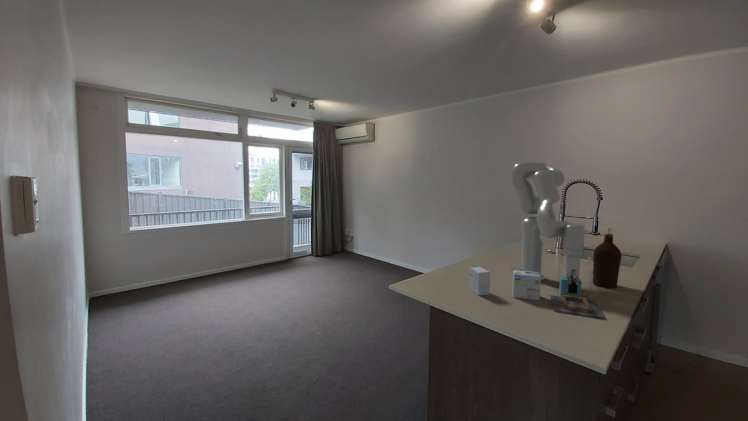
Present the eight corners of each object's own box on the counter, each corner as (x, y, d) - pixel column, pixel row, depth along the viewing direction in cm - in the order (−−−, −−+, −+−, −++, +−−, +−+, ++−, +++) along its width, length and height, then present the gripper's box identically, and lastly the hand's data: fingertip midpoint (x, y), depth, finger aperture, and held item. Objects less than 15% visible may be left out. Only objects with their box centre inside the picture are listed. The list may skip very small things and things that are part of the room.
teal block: (560, 294, 139) (561, 279, 138) (559, 291, 143) (560, 276, 142) (580, 297, 135) (581, 282, 135) (578, 293, 140) (579, 278, 139)
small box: (489, 294, 138) (490, 271, 137) (478, 295, 137) (479, 272, 136) (479, 288, 146) (480, 266, 145) (469, 289, 145) (469, 267, 144)
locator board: (554, 311, 122) (555, 302, 121) (550, 296, 136) (551, 288, 136) (604, 319, 115) (605, 309, 115) (594, 303, 129) (595, 294, 129)
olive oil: (624, 289, 145) (629, 236, 142) (601, 289, 145) (605, 236, 142) (607, 281, 155) (611, 232, 152) (586, 281, 155) (590, 232, 152)
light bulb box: (537, 295, 138) (539, 271, 137) (540, 301, 132) (541, 276, 130) (511, 292, 142) (512, 269, 140) (512, 297, 135) (513, 273, 134)
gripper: (560, 247, 146) (558, 282, 148) (565, 255, 130) (563, 295, 132) (579, 248, 143) (577, 284, 145) (587, 257, 127) (584, 297, 129)
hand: (570, 289), depth 138 cm, fingers open, 9 cm apart
